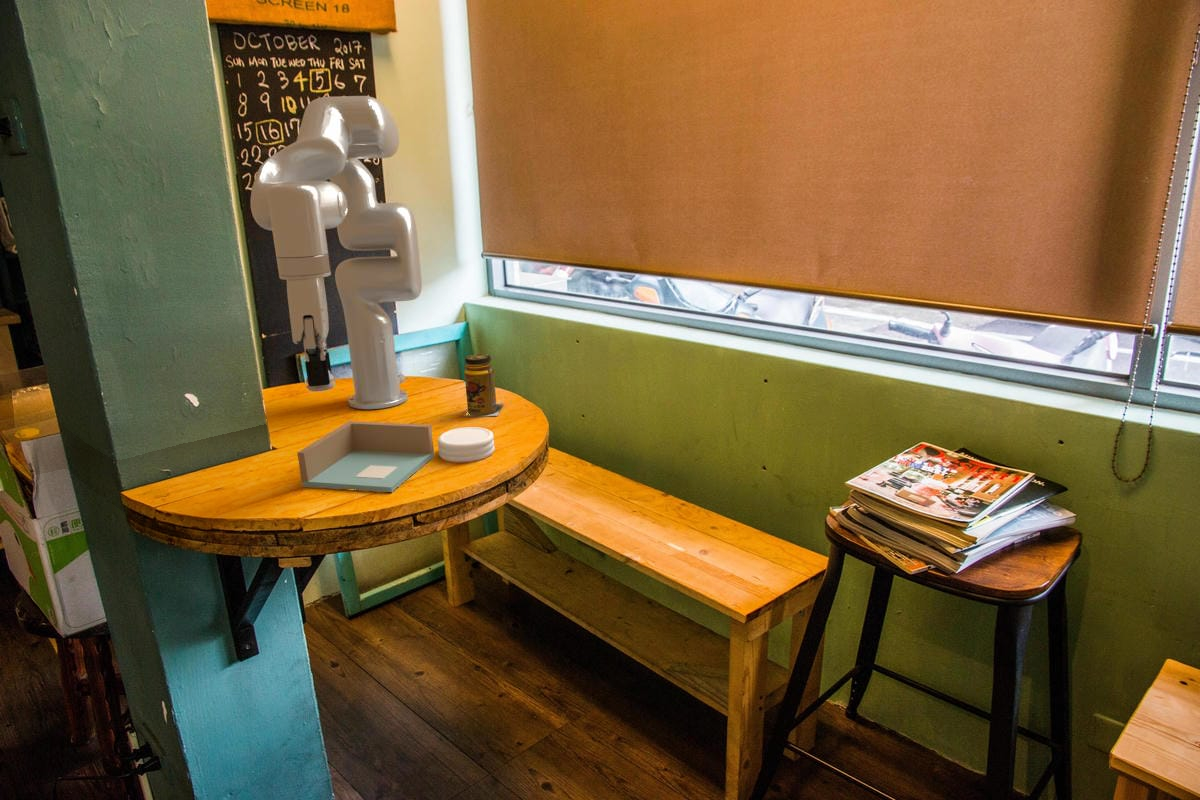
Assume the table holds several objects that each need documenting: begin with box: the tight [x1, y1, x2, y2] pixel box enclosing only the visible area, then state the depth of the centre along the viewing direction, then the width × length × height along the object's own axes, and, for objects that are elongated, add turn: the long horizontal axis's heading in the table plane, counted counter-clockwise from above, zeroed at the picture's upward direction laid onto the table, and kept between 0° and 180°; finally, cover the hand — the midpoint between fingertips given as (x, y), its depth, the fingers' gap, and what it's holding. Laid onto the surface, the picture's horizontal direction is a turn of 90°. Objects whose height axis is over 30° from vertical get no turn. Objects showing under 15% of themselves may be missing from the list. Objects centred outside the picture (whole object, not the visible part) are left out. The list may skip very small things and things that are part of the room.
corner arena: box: [296, 420, 435, 493], centre depth 132 cm, size 16×16×6 cm
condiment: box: [463, 353, 505, 418], centre depth 162 cm, size 7×8×12 cm
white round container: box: [437, 426, 496, 463], centre depth 140 cm, size 10×10×4 cm
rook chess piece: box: [305, 338, 336, 392], centre depth 124 cm, size 4×4×8 cm
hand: (320, 379), depth 125 cm, fingers closed on rook chess piece, 4 cm apart
